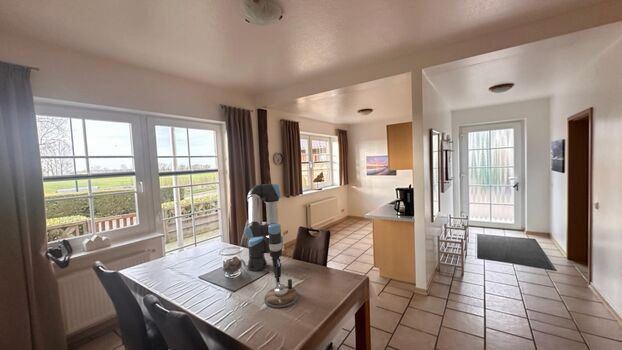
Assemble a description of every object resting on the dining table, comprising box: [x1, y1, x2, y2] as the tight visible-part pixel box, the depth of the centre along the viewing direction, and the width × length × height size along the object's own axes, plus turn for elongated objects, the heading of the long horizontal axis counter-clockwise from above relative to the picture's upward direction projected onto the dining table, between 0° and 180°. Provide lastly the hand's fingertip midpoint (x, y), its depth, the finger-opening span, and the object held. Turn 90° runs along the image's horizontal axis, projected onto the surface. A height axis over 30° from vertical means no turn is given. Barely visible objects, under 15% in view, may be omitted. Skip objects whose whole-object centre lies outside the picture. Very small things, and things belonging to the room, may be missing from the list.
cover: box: [274, 283, 288, 297], centre depth 148 cm, size 8×8×5 cm
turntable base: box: [263, 291, 299, 309], centre depth 148 cm, size 20×20×1 cm
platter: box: [265, 278, 297, 305], centre depth 147 cm, size 18×18×6 cm
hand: (277, 286), depth 155 cm, fingers closed
